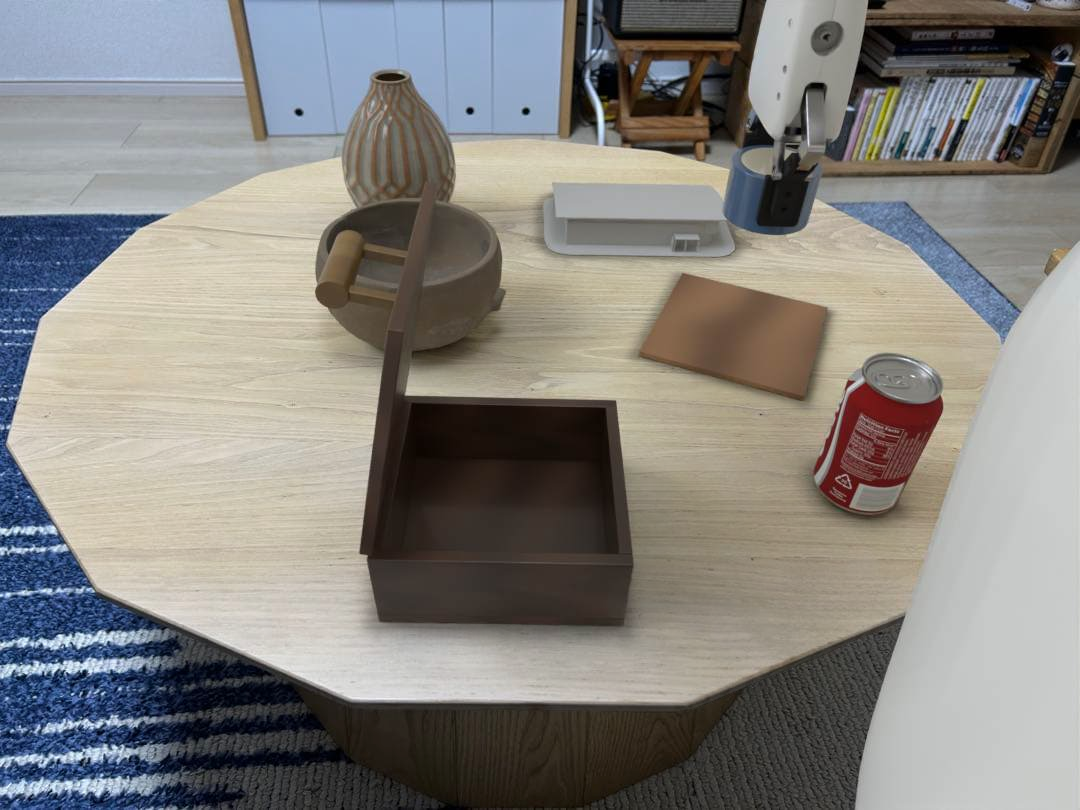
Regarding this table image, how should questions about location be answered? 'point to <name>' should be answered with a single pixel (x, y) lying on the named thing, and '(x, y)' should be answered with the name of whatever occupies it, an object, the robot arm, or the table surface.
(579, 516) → the chest
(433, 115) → the vase
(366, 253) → the lid
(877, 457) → the soda can
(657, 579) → the table surface
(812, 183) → the blue beige short cylinder
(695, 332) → the plate
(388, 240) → the bowl
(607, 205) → the grey plastic case
